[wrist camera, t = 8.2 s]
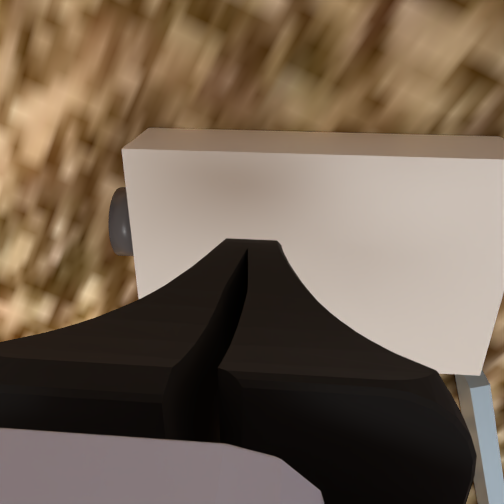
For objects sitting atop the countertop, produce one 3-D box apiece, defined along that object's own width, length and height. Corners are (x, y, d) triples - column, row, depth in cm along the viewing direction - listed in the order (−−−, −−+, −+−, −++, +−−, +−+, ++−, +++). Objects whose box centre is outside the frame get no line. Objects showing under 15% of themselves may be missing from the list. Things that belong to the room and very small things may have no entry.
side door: (449, 344, 23) (470, 388, 20) (484, 337, 22) (510, 381, 20) (480, 521, 28) (500, 574, 25) (509, 517, 28) (532, 571, 25)
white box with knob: (499, 136, 19) (540, 160, 16) (454, 326, 23) (479, 376, 20) (125, 127, 20) (93, 147, 17) (145, 311, 24) (122, 355, 21)
